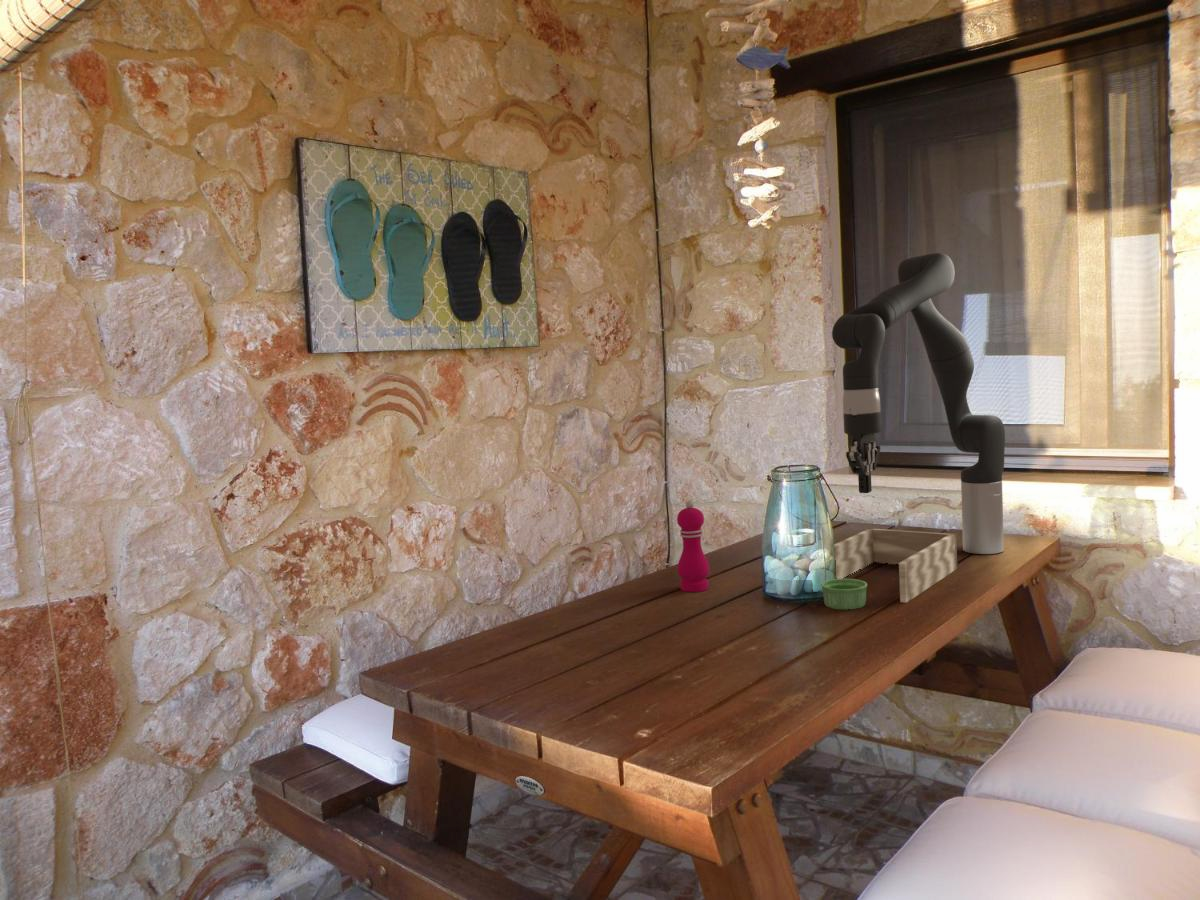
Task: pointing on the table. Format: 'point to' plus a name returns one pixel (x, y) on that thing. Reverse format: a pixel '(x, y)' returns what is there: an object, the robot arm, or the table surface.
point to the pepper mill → (692, 551)
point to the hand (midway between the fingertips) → (865, 492)
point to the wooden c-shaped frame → (900, 556)
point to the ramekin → (844, 593)
